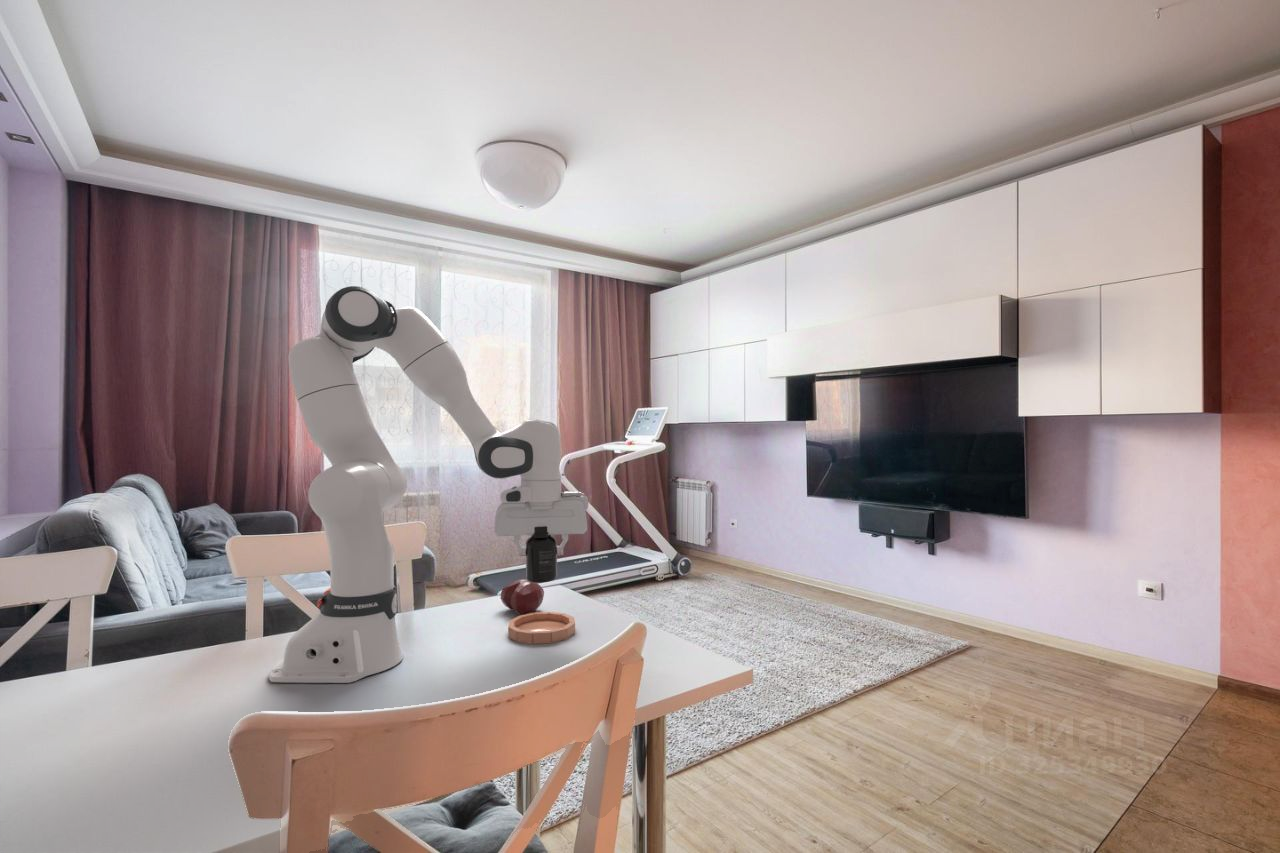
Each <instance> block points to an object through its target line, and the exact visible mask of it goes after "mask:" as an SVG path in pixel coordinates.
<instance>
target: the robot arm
mask: <svg viewBox="0 0 1280 853" xmlns="http://www.w3.org/2000/svg"><path fill="white" fill-rule="evenodd" d="M375 348H376V349H380V350H381V351H384V352H385V353H387V354H389V355H390V357H392V358H393V359H394V360H395V362H396V363H397V365H398V366H399V367H400V369H401V370H402V372H404V374H405V375H406V377H407V378H408V380H410V381H411V383H413V384H414V386H416V388H417V389H418V390H419V391H420V392H421V393H423V394H424V395H425V396H426V397H427V398H429V399H430V400H431V401H433V402H435V404H437V405H439V406H440V407H441V408H442V409H444V411H446V412H447V413H448V414H449V415H450V417H452V419H453V420H454V421H455V423H456V424H457V425H458V427H459V429H460V430H461V431H462V432H463V433H464V435H465V437H467V439H468V441H469V442H470V444H471V445H472V448H473V451H474V452H473V453H474V457H475V461H476V464H477V466H478V468H479V469H480V470H481V472H483V473H484V474H485V475H487V476H488V477H490V478H492V479H496V480H504V479H508V478H512V477H515V476H516V477H517V476H520V485H517V486H513V487H510V488H507V489H504V490H503V491H502V492H500V495H499V497H500V501H501V502H500V503H499V505H498V506H497V510H495V511H496V512H495V518H494V527H493V528H494V530H493V531H494V534H495V535H496V536H497V537H513V542H514V543H515V545H516V547H517V548H518V556H519V557H526V546H523V545H522V544H521V542H520V541H521V539H522V538H521V537H523V536H531V535H533V533H534V532H535V531H534V528H535V527H543V526H547V532H548V533H549V534H547V535H551V536H555V535H557V536H559V535H561V540H562V542H561V543H560V545H557V556H561V555H564V547H565V546H566V544H567V542H568V541H569V535H583V534H585V533H586V532H587V530H588V519H587V514H586V512H587V510H588V508H589V497H588V496H587V494H585V493H582V492H581V491H562V475H561V472H560V466H561V461H562V445H561V434H560V431H559V427H557V424H554V423H553V422H551V421H548V420H542V419H536V418H526V419H524V420H523V421H522V422H521V423H518V425H516V426H514V427H512V428H509V429H507V430H505V431H502V432H501V431H500V430H499V429H498V428H497V427H495V426H494V424H493V423H492V422H491V421H490V419H489V417H487V415H486V413H484V411H483V409H482V408H481V406H480V405H479V404H478V402H477V401H476V400H475V398H474V396H473V393H472V392H471V389H470V386H469V381H468V379H467V378H468V377H467V373H466V370H465V367H464V365H463V364H462V361H461V359H460V358H459V356H458V354H457V352H456V351H455V349H454V347H453V346H452V344H451V343H450V341H449V340H448V339H447V338H446V337H445V335H444V334H443V333H442V332H441V330H440V329H439V327H437V326H436V325H435V324H434V323H433V321H431V319H430V318H428V317H427V315H425V314H424V313H423V312H422V311H421V310H419V309H418V308H416V307H412V306H403V307H400V308H397V309H396V308H395V306H394V304H393V303H391V302H390V301H387V300H385V299H383V298H382V297H380V296H379V295H378V294H377V293H375V292H374V291H371V289H368V288H366V287H362V286H357V285H355V286H354V285H352V286H351V285H350V286H346V287H345V286H344V287H343V288H340V289H339V290H337V291H335V293H333V295H331V296H330V298H329V299H328V300H327V302H326V305H325V309H324V311H323V313H322V317H321V324H320V330H319V334H318V335H316V336H312V337H307V338H305V339H302V340H300V341H298V342H297V343H295V344H294V345H293V346H292V347H291V348H290V350H289V353H288V368H289V373H290V378H291V379H290V380H291V384H292V387H293V391H294V394H295V399H296V401H297V404H298V408H299V410H300V412H301V415H302V419H303V421H304V424H305V427H306V429H307V432H308V436H309V438H310V440H311V441H312V443H313V444H314V445H315V446H316V447H317V448H319V449H320V451H321V452H322V453H323V454H324V455H325V457H326V458H327V459H328V461H329V462H330V464H331V466H330V467H328V468H326V469H324V471H322V472H320V473H319V474H318V475H317V476H315V478H314V479H313V480H312V481H311V484H310V486H309V489H308V496H307V497H308V502H309V506H310V508H311V509H312V511H313V512H314V513H315V515H316V516H317V517H318V518H319V519H320V521H321V524H322V526H323V531H324V533H325V538H326V541H327V545H328V550H329V565H330V566H329V568H330V569H329V570H330V572H329V573H330V587H328V589H327V590H325V591H324V592H323V595H322V596H320V597H319V599H318V601H316V602H317V605H316V608H319V611H320V612H319V613H317V615H315V616H314V617H313V618H311V619H310V620H309V621H307V622H306V623H305V624H304V625H302V627H300V628H299V629H298V630H297V631H296V632H294V633H293V635H292V636H291V637H290V638H289V640H288V642H287V644H286V647H285V651H284V656H283V658H281V659H280V660H279V661H277V662H276V663H275V664H274V665H273V667H272V668H271V669H270V670H269V675H268V676H269V677H268V679H269V681H270V683H297V684H299V683H301V684H302V683H303V684H304V683H311V684H312V683H313V684H314V683H315V684H317V683H319V684H321V683H322V684H328V683H329V684H330V683H331V684H348V683H354V682H356V681H358V680H361V679H362V678H365V677H368V676H370V675H374V674H379V673H380V672H384V671H386V670H389V669H391V668H392V667H395V666H396V665H398V664H399V663H400V662H401V661H402V660H403V658H404V654H403V652H402V649H401V645H400V642H399V637H398V631H397V623H396V615H397V609H398V596H397V595H398V594H397V586H396V585H395V584H394V581H395V580H394V577H395V576H394V571H395V570H394V567H395V566H394V547H393V543H392V542H391V541H390V540H389V537H388V534H387V531H386V527H385V523H384V515H383V514H384V512H387V511H388V510H390V509H392V508H393V507H395V506H396V505H397V504H398V503H399V501H400V500H401V499H402V498H403V497H404V495H405V493H406V490H407V487H408V486H407V485H408V481H407V480H408V479H407V476H406V474H405V472H404V470H403V469H402V468H401V467H400V466H399V465H398V464H397V463H396V462H395V460H394V459H393V457H392V455H391V453H390V451H389V450H388V448H387V446H386V445H385V443H384V441H383V439H382V438H381V437H380V435H379V433H378V430H377V429H376V427H375V425H374V422H373V421H372V418H371V415H370V413H369V409H368V406H367V404H366V402H365V400H364V396H363V393H362V390H361V388H360V385H359V382H358V379H357V377H356V374H355V371H354V363H355V362H357V361H359V360H361V359H363V358H365V357H367V356H368V355H369V354H371V352H372V351H373V350H374V349H375Z"/></svg>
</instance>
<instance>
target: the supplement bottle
mask: <svg viewBox="0 0 1280 853" xmlns="http://www.w3.org/2000/svg"><path fill="white" fill-rule="evenodd" d="M534 531H535V532H534V533H533V535H530V537H528V538H527V539H526V541H525V547H526V556H525V577H526V579H527V580H528V581H529V582H534V583H538V584H539V583H540V584H541V583H542V584H543V583H549V582H552V581H555V580H557V578H558V555H557V546H558V543H557V541H558V540H557V539H556V537H554V535H547V534H549V533H548V532H547V526H543V527H535V528H534Z"/></svg>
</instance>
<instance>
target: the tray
mask: <svg viewBox="0 0 1280 853" xmlns="http://www.w3.org/2000/svg"><path fill="white" fill-rule="evenodd" d="M575 621H576V620H575V617H574V616H571V615H569V614H567V613H562V612H555V611H542V612H539V611H537V612H533V613H530V614H525V615H521V614H520V615H518V616H516V617H514V618H512V619H510V620H509V621H508V628H507V630H508V631H507V632H508V633H507V638H509V637H510V638H509V639H511V640H513V641H515V642H516V643H522V644H530V645H538V644H551V643H556V642H560V641H563V640H567V639H569V638H570V637H571V636H573V635H575V634H576V622H575Z"/></svg>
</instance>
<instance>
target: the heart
mask: <svg viewBox="0 0 1280 853" xmlns="http://www.w3.org/2000/svg"><path fill="white" fill-rule="evenodd" d="M544 596H545V590H544V589H543V587H542V586H541V585H540V584H539V583H534V582H529V581H528V580H527V579H525V578H520V579H517V580H515V581H512V582H511V583H509V584H507V585H506V586H504V587H503V588H502V590H501V592H500V600H501V602H502V604H503V605H504V606H505V607H506V608H508V609H509V610H513V611H515V612H516V613H517V614H518V615H520V616H521V615H525V614H530V613H535V612H536V611H537V610H538V609H539V608H540V607H541V605H542V604H543V600H544Z"/></svg>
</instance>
